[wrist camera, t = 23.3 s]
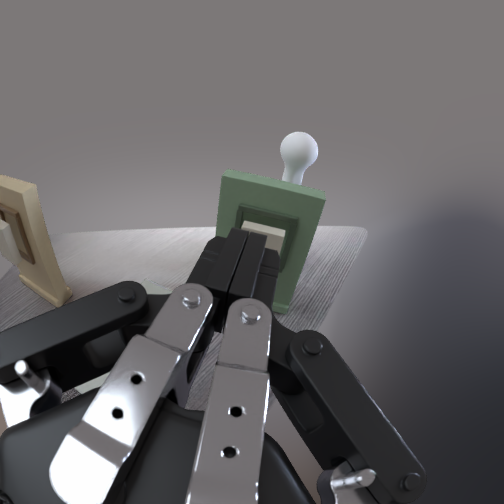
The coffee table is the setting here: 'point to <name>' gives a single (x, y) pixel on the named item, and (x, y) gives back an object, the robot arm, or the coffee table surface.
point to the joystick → (297, 155)
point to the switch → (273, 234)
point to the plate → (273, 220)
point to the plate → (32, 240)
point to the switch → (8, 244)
